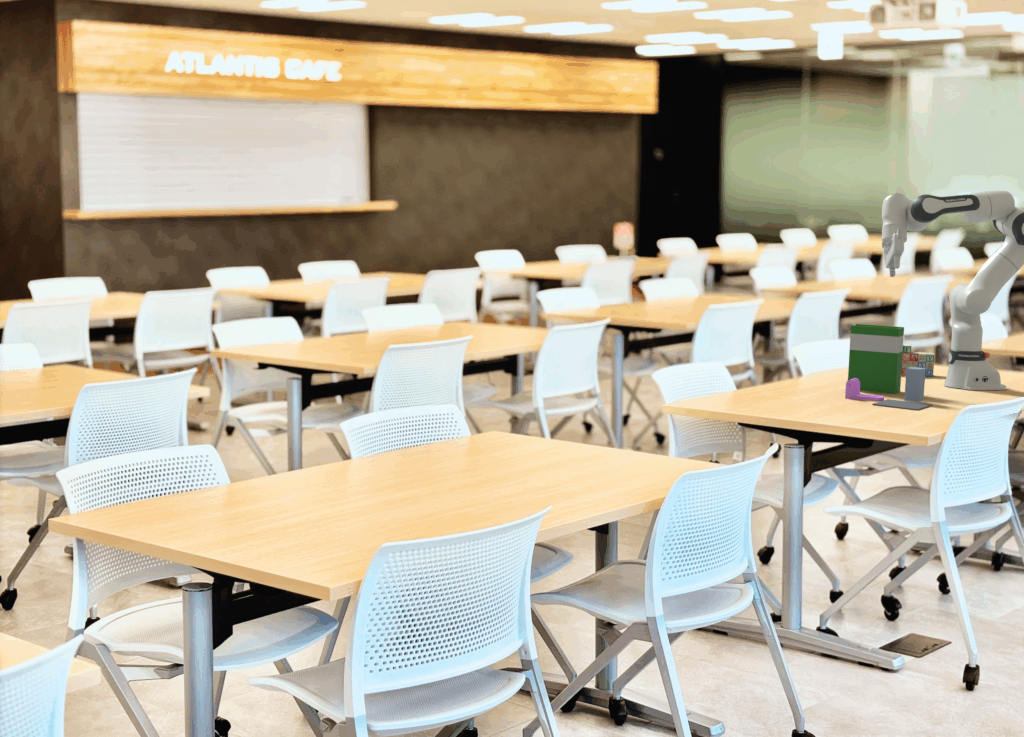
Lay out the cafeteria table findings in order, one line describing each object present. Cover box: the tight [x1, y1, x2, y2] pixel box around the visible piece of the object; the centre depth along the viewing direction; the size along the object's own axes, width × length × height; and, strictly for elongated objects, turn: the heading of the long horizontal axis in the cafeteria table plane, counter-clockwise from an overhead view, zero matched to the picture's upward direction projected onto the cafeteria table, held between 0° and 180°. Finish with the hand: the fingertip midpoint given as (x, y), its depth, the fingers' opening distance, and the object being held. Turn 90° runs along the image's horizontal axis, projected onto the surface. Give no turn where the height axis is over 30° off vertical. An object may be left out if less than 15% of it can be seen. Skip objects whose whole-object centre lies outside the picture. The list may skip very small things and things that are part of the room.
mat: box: [871, 398, 934, 411], centre depth 458 cm, size 14×16×1 cm
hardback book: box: [847, 323, 905, 395], centre depth 489 cm, size 18×7×24 cm, turn 61°
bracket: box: [844, 378, 885, 402], centre depth 470 cm, size 13×6×7 cm, turn 61°
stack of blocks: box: [901, 343, 935, 378], centre depth 536 cm, size 21×6×12 cm, turn 72°
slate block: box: [903, 367, 926, 403], centre depth 465 cm, size 5×5×12 cm
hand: (894, 272), depth 483 cm, fingers open, 8 cm apart
